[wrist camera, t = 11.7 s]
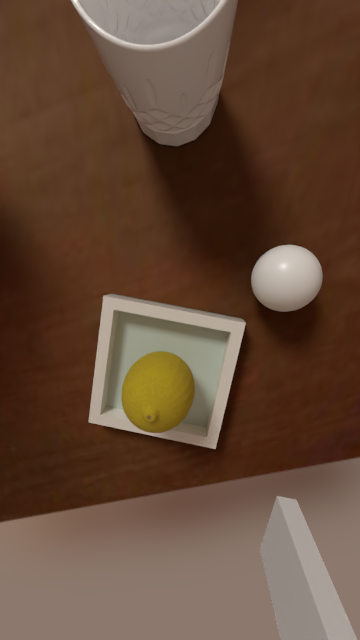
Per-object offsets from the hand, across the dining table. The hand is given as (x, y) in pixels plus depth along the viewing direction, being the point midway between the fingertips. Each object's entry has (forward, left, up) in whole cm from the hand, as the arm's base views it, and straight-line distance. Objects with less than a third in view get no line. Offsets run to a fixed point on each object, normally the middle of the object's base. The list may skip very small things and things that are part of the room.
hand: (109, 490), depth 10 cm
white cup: (-3, +22, -14) cm, 26 cm away
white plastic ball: (+8, +10, -14) cm, 19 cm away
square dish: (0, 0, -14) cm, 14 cm away
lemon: (+1, 0, -14) cm, 14 cm away
